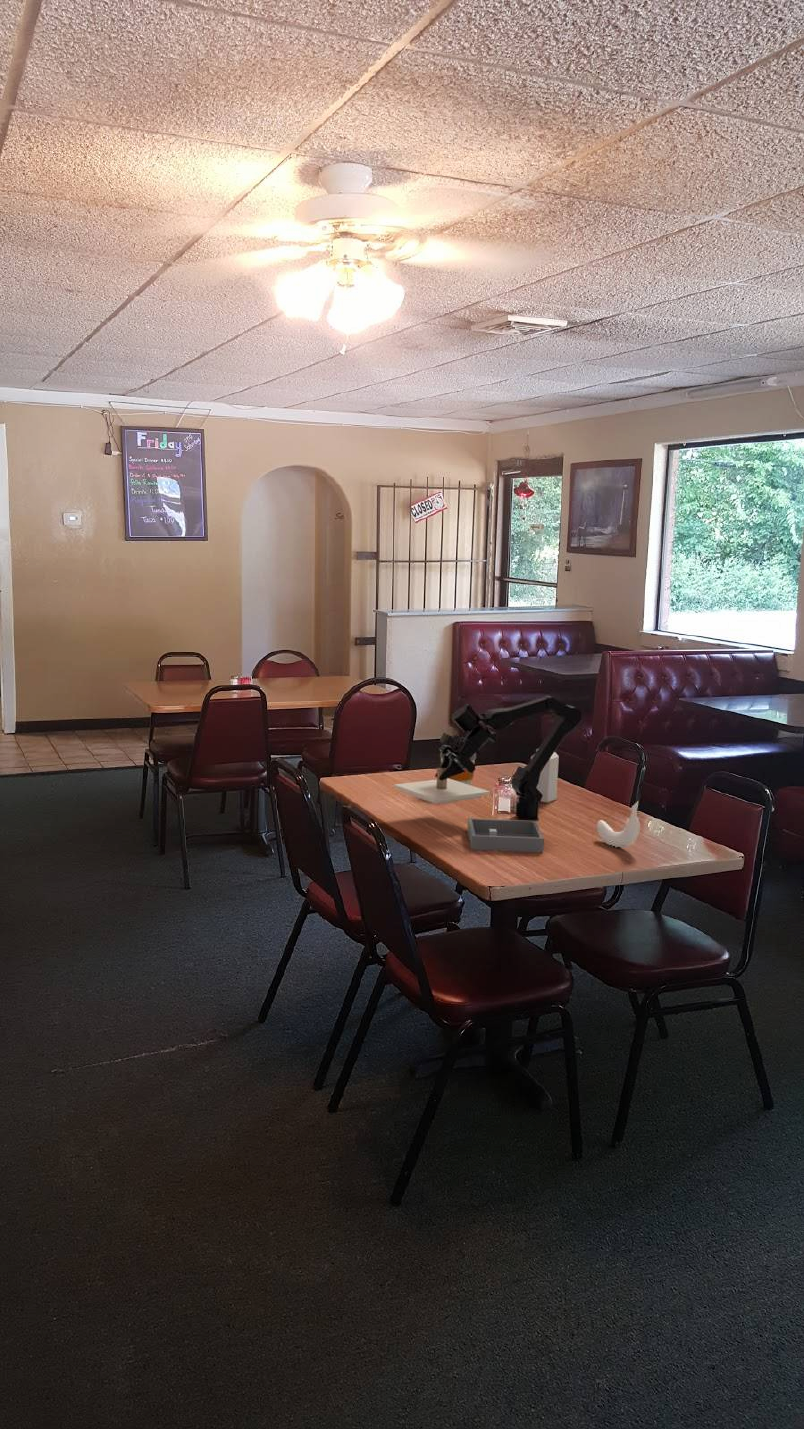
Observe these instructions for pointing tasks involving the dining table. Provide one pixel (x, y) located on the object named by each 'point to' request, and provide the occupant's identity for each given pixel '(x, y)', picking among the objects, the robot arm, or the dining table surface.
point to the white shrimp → (624, 836)
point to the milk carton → (549, 779)
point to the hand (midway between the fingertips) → (437, 778)
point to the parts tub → (505, 835)
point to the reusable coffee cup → (465, 776)
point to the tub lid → (441, 790)
